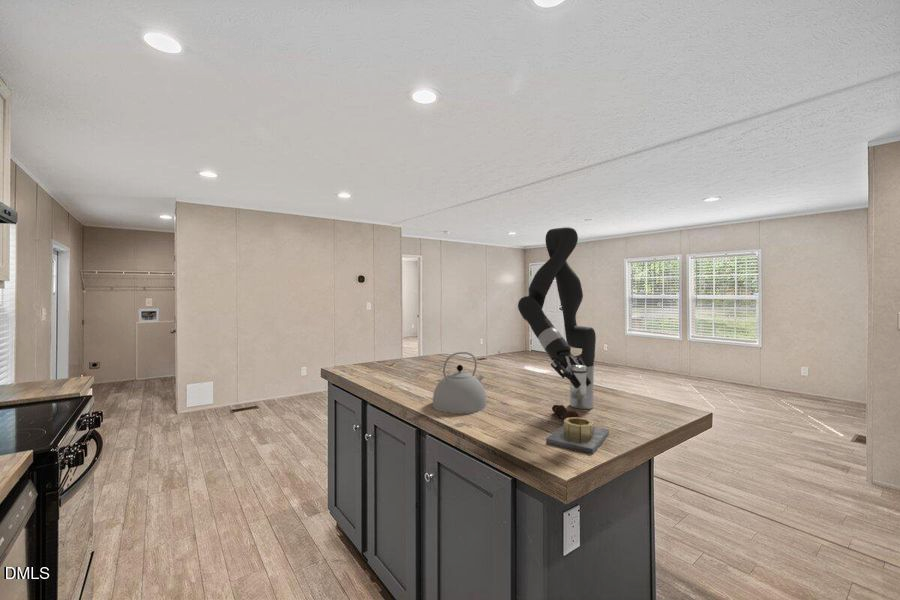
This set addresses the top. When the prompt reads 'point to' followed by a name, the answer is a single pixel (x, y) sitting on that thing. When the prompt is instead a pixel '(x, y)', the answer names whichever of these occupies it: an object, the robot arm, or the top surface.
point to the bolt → (563, 412)
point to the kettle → (460, 391)
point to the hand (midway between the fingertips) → (583, 385)
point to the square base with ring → (578, 435)
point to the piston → (581, 376)
